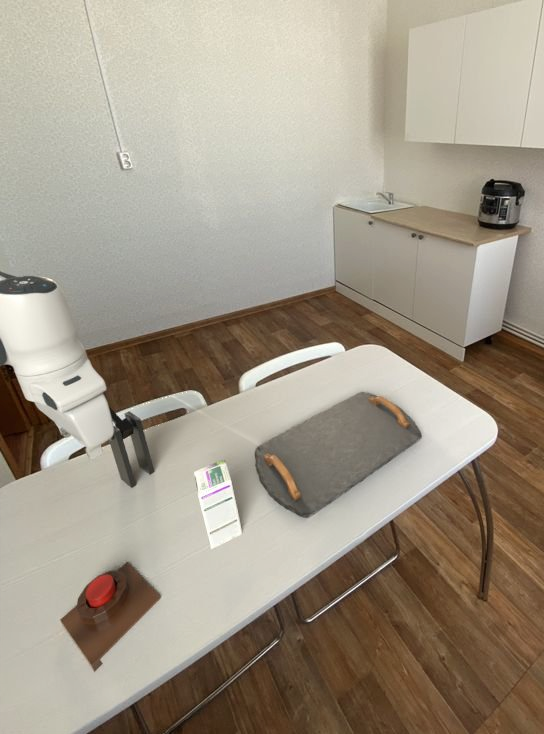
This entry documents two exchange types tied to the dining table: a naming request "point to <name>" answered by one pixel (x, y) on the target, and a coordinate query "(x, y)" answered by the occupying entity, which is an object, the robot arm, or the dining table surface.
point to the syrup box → (218, 503)
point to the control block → (109, 615)
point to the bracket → (139, 447)
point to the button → (100, 590)
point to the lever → (122, 424)
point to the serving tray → (333, 452)
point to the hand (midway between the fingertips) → (82, 444)
